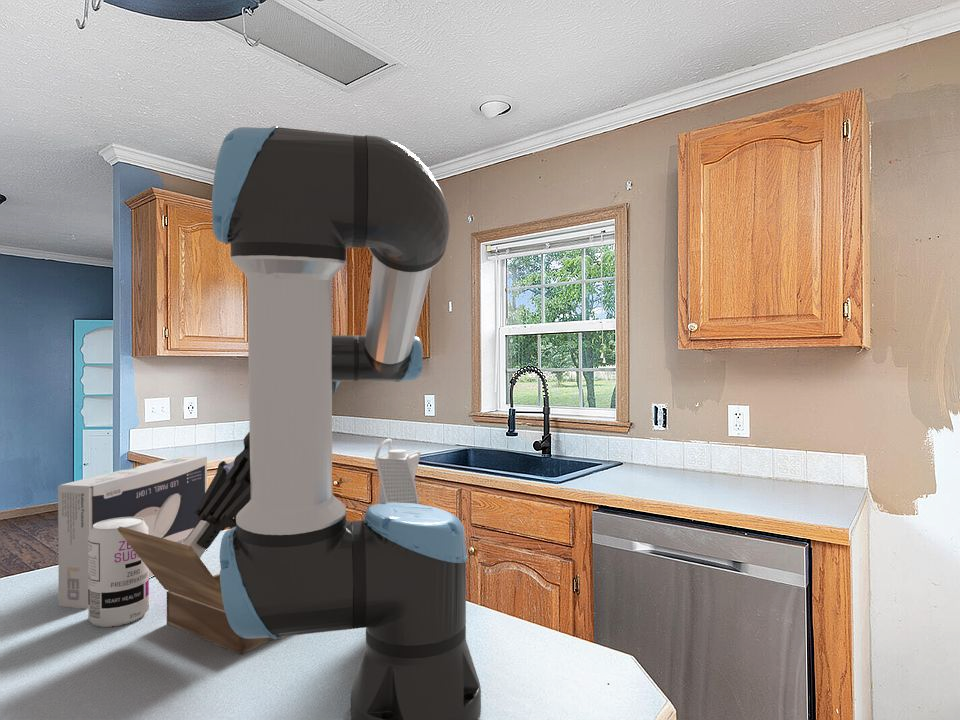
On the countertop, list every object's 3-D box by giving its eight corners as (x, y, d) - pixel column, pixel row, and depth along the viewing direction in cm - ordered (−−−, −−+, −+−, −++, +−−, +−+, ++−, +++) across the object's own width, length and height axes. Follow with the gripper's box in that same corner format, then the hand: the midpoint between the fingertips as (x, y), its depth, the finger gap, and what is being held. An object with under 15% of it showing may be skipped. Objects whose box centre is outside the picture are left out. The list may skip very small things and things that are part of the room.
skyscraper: (362, 615, 97) (362, 439, 97) (410, 605, 101) (409, 436, 100) (381, 637, 89) (380, 446, 89) (431, 624, 93) (431, 442, 93)
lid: (167, 586, 93) (119, 526, 87) (239, 611, 84) (191, 546, 78) (165, 589, 93) (116, 529, 87) (236, 614, 84) (188, 549, 78)
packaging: (89, 608, 100) (88, 486, 99) (58, 605, 101) (57, 485, 101) (208, 550, 129) (207, 456, 129) (182, 548, 130) (182, 455, 130)
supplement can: (110, 606, 100) (110, 515, 100) (159, 607, 100) (159, 516, 100) (76, 628, 92) (75, 529, 92) (129, 629, 92) (128, 530, 92)
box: (245, 593, 106) (245, 565, 105) (318, 617, 96) (318, 586, 96) (166, 624, 94) (166, 591, 94) (241, 654, 84) (241, 618, 84)
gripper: (316, 451, 99) (226, 587, 85) (264, 445, 106) (172, 569, 92) (290, 422, 94) (190, 561, 81) (237, 417, 101) (136, 544, 88)
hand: (180, 565), depth 86 cm, fingers closed
